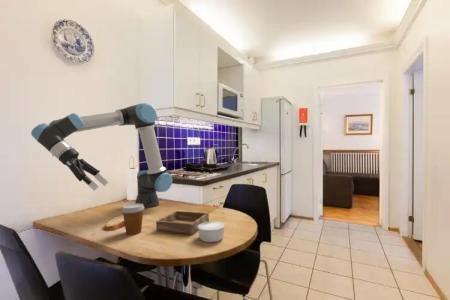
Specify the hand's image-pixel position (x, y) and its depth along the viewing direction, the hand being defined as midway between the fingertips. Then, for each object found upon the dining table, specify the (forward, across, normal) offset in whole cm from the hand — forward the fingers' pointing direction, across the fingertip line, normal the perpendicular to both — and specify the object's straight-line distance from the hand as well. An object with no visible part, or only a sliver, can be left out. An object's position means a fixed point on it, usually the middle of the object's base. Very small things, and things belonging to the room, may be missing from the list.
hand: (102, 186), depth 109 cm
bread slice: (+19, -11, -10) cm, 25 cm away
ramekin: (+48, +19, +19) cm, 55 cm away
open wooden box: (+40, +2, +12) cm, 42 cm away
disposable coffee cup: (+25, +5, -4) cm, 26 cm away
